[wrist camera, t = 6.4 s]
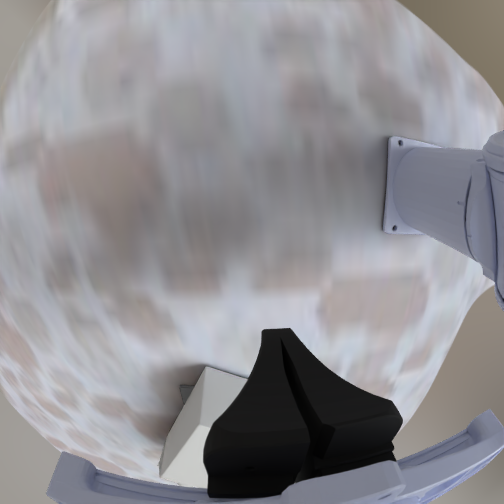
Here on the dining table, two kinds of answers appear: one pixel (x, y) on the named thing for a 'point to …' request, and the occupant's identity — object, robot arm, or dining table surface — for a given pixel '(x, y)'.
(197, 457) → the milk carton
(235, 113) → the dining table surface
